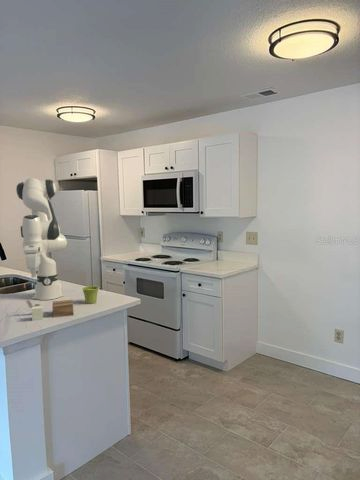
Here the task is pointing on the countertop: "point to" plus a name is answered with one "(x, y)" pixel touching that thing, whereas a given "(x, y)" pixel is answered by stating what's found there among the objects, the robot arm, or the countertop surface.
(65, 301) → the walnut block
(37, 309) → the sage block
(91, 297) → the plant pot
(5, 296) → the countertop surface
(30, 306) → the lighter
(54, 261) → the robot arm
